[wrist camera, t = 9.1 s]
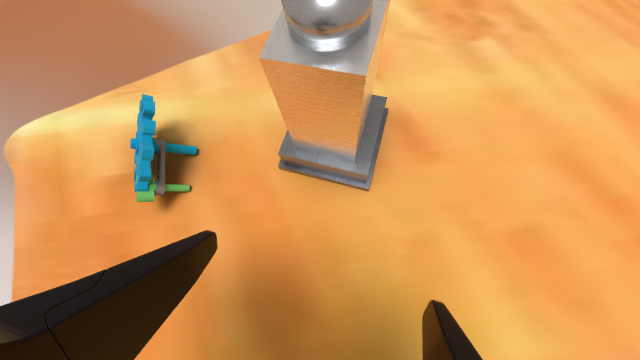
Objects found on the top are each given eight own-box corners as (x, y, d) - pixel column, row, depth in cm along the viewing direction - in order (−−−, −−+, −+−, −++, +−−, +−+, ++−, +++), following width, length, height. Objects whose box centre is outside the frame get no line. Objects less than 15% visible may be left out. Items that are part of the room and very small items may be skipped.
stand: (368, 191, 24) (371, 181, 21) (279, 168, 26) (272, 157, 23) (387, 111, 27) (392, 94, 24) (306, 96, 29) (302, 78, 26)
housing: (354, 162, 22) (370, 40, 10) (295, 148, 23) (245, 22, 11) (370, 102, 24) (401, -59, 12) (316, 92, 25) (292, -66, 13)
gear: (129, 118, 28) (137, 71, 21) (185, 128, 32) (207, 91, 25) (125, 210, 26) (131, 192, 19) (185, 208, 30) (210, 193, 22)
